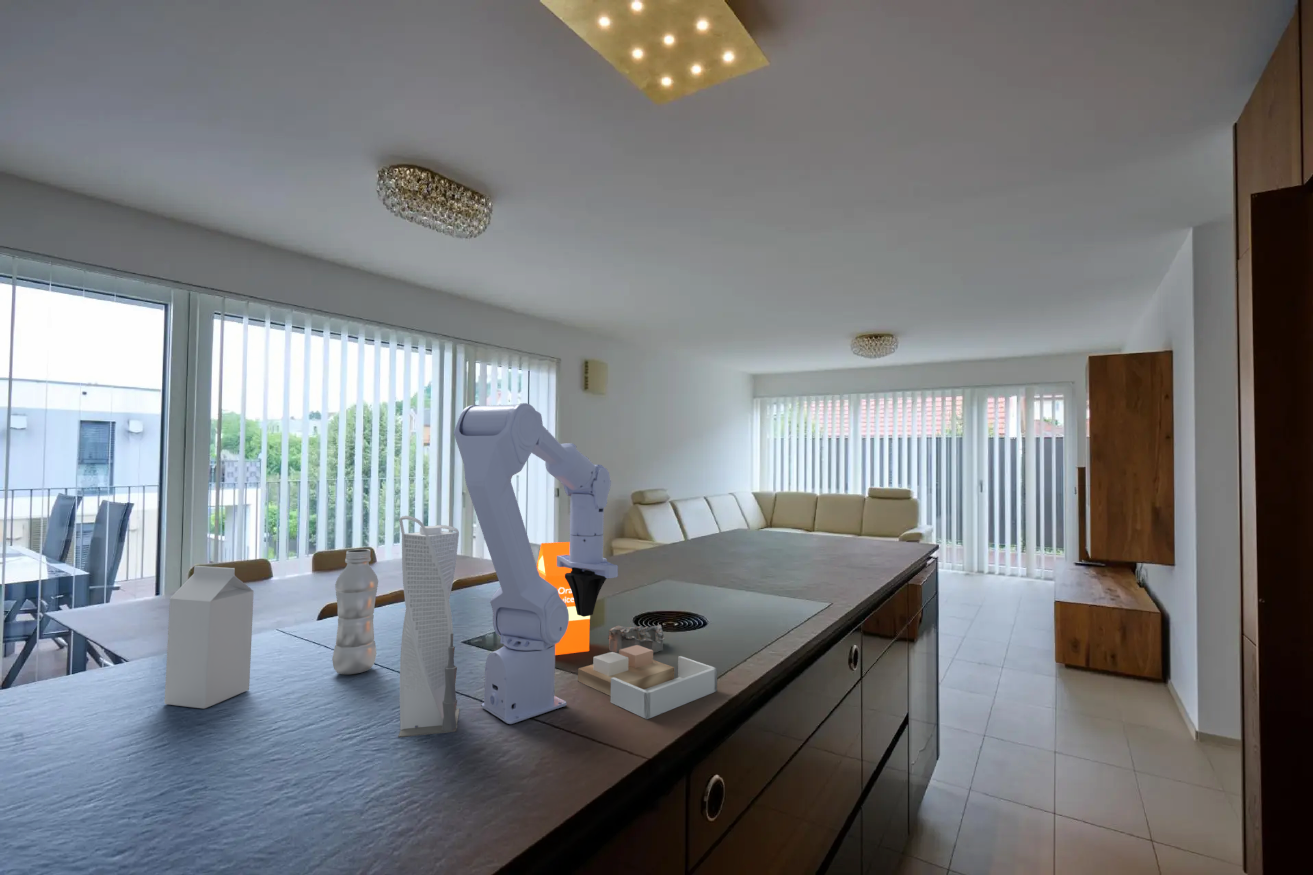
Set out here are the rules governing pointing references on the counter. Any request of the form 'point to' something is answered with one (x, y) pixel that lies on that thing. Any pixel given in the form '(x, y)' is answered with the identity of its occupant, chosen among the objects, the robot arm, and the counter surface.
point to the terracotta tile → (637, 655)
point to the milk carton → (209, 639)
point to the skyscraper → (428, 632)
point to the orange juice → (564, 598)
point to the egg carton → (636, 637)
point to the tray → (666, 690)
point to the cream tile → (610, 663)
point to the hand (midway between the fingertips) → (585, 614)
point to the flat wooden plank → (627, 676)
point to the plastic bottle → (355, 614)
